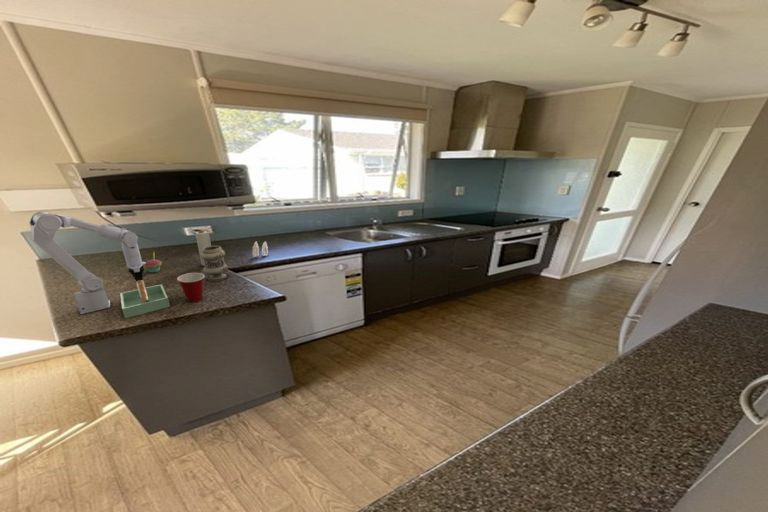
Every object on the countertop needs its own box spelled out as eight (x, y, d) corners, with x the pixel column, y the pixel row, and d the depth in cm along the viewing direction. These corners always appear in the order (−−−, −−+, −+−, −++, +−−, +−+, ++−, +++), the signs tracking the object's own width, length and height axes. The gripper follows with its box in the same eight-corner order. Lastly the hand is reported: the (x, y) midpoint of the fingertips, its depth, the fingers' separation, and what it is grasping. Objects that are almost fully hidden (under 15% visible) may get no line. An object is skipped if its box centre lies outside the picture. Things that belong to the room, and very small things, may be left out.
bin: (124, 318, 120) (122, 309, 118) (122, 301, 133) (120, 293, 132) (170, 306, 130) (168, 297, 128) (163, 292, 143) (161, 284, 142)
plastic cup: (201, 304, 132) (196, 280, 129) (177, 304, 131) (171, 281, 128) (213, 294, 143) (208, 271, 139) (190, 294, 142) (185, 272, 138)
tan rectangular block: (142, 306, 128) (137, 290, 126) (139, 295, 139) (135, 280, 136) (150, 304, 130) (146, 288, 128) (147, 293, 141) (143, 278, 138)
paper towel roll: (200, 264, 181) (193, 231, 175) (210, 262, 186) (204, 230, 179) (204, 267, 177) (197, 233, 170) (214, 265, 181) (208, 232, 174)
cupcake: (162, 267, 175) (157, 248, 171) (164, 271, 169) (159, 252, 165) (144, 270, 169) (139, 251, 165) (146, 275, 163) (140, 255, 159)
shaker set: (254, 259, 192) (252, 243, 188) (250, 258, 194) (248, 242, 191) (270, 255, 201) (268, 239, 198) (266, 253, 203) (264, 238, 200)
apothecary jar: (206, 275, 165) (201, 245, 159) (230, 272, 170) (225, 243, 164) (203, 283, 154) (197, 251, 149) (228, 280, 159) (223, 249, 153)
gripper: (144, 257, 133) (151, 284, 137) (141, 250, 143) (148, 275, 147) (124, 260, 128) (132, 288, 132) (123, 253, 138) (130, 278, 142)
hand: (139, 281), depth 139 cm, fingers closed
